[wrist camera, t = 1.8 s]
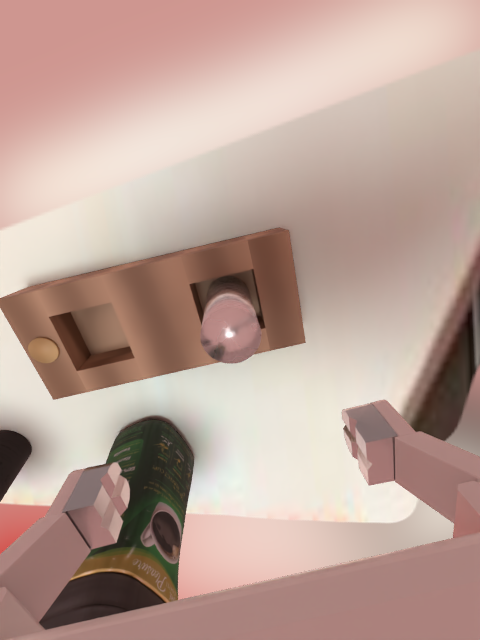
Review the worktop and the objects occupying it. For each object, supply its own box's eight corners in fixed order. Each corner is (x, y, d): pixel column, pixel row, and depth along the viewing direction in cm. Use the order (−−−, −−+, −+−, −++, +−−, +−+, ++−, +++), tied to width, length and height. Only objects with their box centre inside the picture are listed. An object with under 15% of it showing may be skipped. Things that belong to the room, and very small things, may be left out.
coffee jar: (105, 433, 33) (-22, 678, 16) (164, 407, 32) (97, 635, 15) (150, 484, 37) (85, 731, 19) (204, 462, 36) (188, 699, 18)
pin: (244, 271, 26) (255, 301, 18) (252, 311, 27) (266, 356, 19) (202, 281, 26) (192, 315, 18) (213, 320, 28) (209, 368, 19)
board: (279, 227, 26) (289, 231, 22) (294, 325, 29) (306, 344, 25) (27, 287, 26) (-7, 301, 22) (74, 376, 30) (51, 401, 26)
